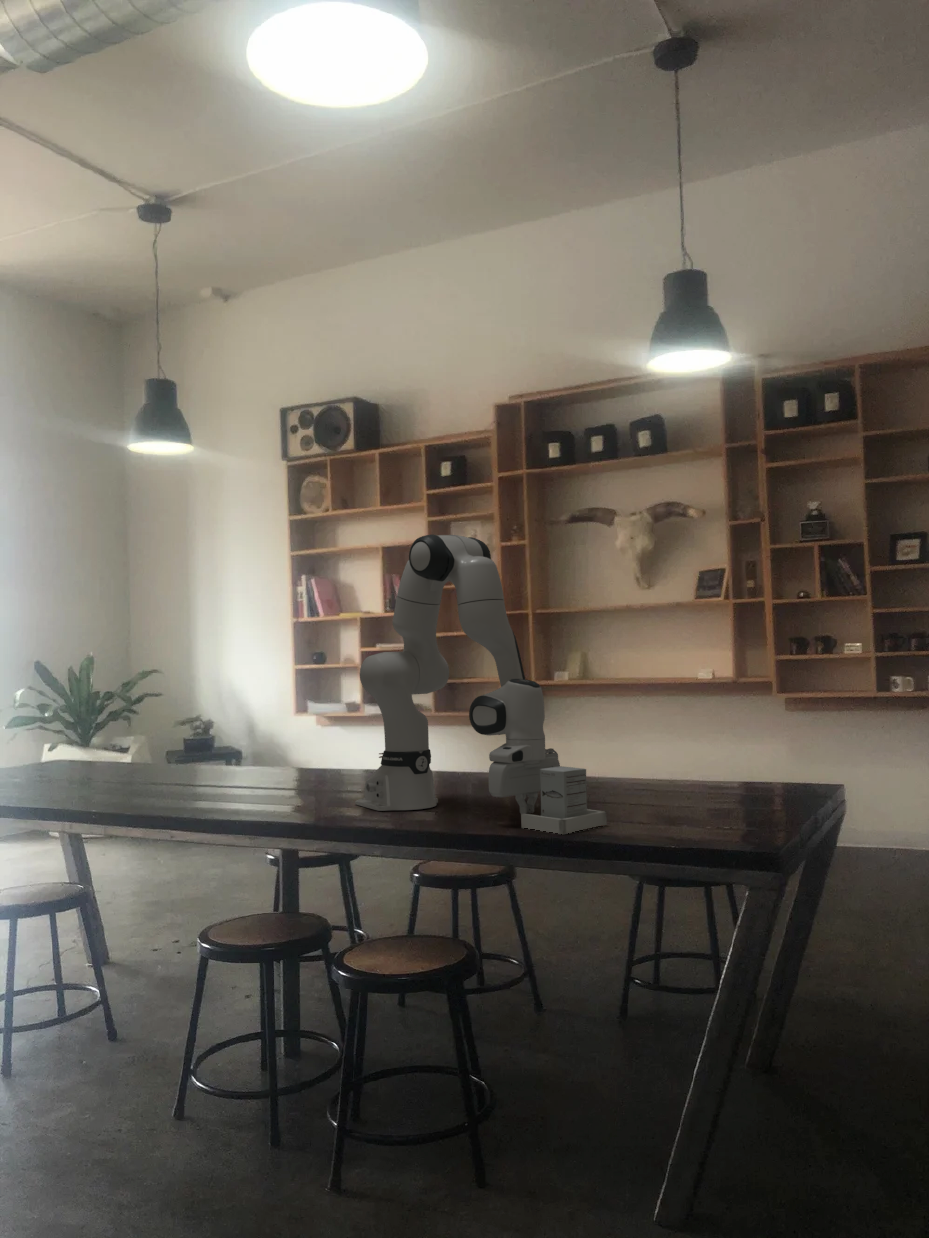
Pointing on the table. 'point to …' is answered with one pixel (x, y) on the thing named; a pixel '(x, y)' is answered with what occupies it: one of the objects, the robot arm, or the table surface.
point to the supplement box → (563, 792)
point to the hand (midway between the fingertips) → (527, 813)
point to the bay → (564, 822)
